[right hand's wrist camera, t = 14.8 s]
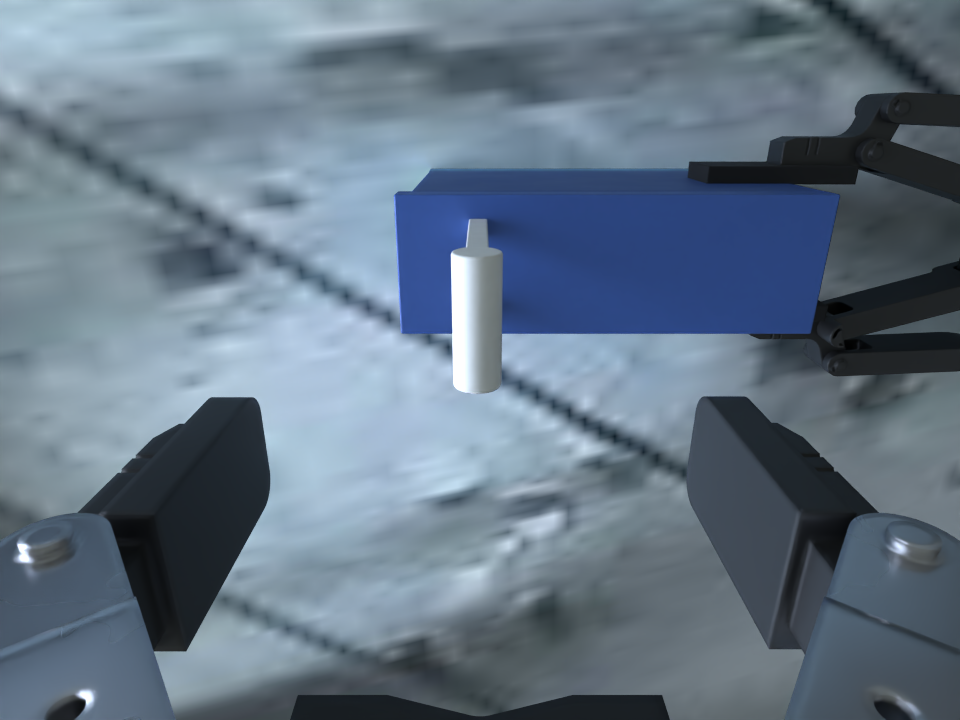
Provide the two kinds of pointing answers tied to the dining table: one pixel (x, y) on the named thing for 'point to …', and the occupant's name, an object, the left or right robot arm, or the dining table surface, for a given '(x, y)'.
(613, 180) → the chest
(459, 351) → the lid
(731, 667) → the dining table surface
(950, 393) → the dining table surface
